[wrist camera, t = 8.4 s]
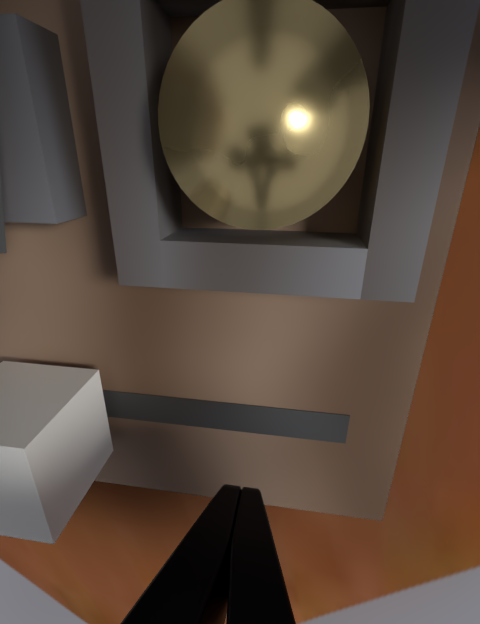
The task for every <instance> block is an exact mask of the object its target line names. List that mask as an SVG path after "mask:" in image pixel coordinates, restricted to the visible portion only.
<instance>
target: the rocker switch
mask: <svg viewBox="0 0 480 624" xmlns="http://www.w3.org/2000/svg"><path fill="white" fill-rule="evenodd" d="M0 253H7V250H6V237H5V224H4V211H3V198H2V185H1V172H0Z"/></svg>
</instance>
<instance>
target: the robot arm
mask: <svg viewBox="0 0 480 624" xmlns="http://www.w3.org/2000/svg"><path fill="white" fill-rule="evenodd" d="M226 615H227V624H296V623H295V619H294V615H293V612H292V608H291V604H290V600H289V596H288V593H287V589H286V585H285V581H284V578H283V574H282V570H281V566H280V562H279V559H278V555H277V551H276V547H275V544H274V540H273V536H272V532H271V528H270V525H269V521H268V517H267V513H266V509H265V506H264V502H263V498H262V494H261V491H260V490H259V489H258V488H251V487H243V488H242V490H241V487H240V486H236V485H229V484H224V485H223V486H222V487H221V488H220V489H219V491H218V492H217V493H216V495H215V496H214V497H213V499H212V500H211V502H210V503H209V504H208V506H207V507H206V508H205V510H204V511H203V512H202V514H201V515H200V516H199V518H198V519H197V521H196V522H195V523H194V525H193V526H192V527H191V529H190V530H189V531H188V533H187V534H186V536H185V537H184V538H183V540H182V541H181V542H180V544H179V545H178V546H177V548H176V549H175V550H174V552H173V553H172V555H171V556H170V557H169V559H168V560H167V561H166V563H165V564H164V565H163V567H162V568H161V569H160V571H159V572H158V574H157V575H156V576H155V578H154V579H153V580H152V582H151V583H150V584H149V586H148V587H147V588H146V590H145V591H144V593H143V594H142V595H141V597H140V598H139V599H138V601H137V602H136V603H135V605H134V606H133V607H132V609H131V610H130V612H129V613H128V614H127V616H126V617H125V618H124V620H123V621H122V622H121V624H224V623H225V619H226Z"/></svg>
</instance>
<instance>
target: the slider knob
mask: <svg viewBox="0 0 480 624" xmlns="http://www.w3.org/2000/svg"><path fill="white" fill-rule="evenodd" d="M112 452H113V446H112V440H111V435H110V429H109V423H108V418H107V412H106V407H105V401H104V396H103V390H102V385H101V379H100V374H99V370H96V369H85V368H74V367H64V366H53V365H43V364H32V363H21V362H11V361H3V362H1V363H0V535H3V536H9V537H15V538H21V539H27V540H33V541H39V542H45V543H51V544H54V543H55V542H56V540H57V539H58V537H59V535H60V534H61V532H62V531H63V529H64V528H65V526H66V524H67V523H68V521H69V520H70V518H71V516H72V515H73V513H74V512H75V510H76V509H77V507H78V505H79V504H80V502H81V501H82V499H83V498H84V496H85V494H86V493H87V491H88V490H89V488H90V486H91V485H92V483H93V482H94V480H95V479H96V477H97V475H98V474H99V472H100V471H101V469H102V468H103V466H104V464H105V463H106V461H107V460H108V458H109V457H110V455H111V453H112Z"/></svg>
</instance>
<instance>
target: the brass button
mask: <svg viewBox="0 0 480 624" xmlns="http://www.w3.org/2000/svg"><path fill="white" fill-rule="evenodd" d="M369 110H370V102H369V88H368V82H367V76H366V72H365V68H364V65H363V62H362V59H361V56H360V54H359V52H358V50H357V48H356V45H355V43H354V41H353V40H352V38H351V37H350V35H349V34H348V32H347V31H346V29H345V28H344V27H343V26H342V24H341V23H340V22H339V21H338V20H337V19H336V18H335V16H333V15H332V14H331V13H330V12H329V11H327V10H326V9H325V8H324V7H323V6H321V5H319V4H318V3H316V2H314V1H313V0H222V1H220V2H218V3H217V4H215V5H214V6H212V7H211V8H209V9H208V10H207V11H205V12H204V13H203V14H202V15H201V16H200V17H199V18H197V19H196V20H195V21H194V22H193V23H192V24H191V26H190V27H189V28H188V29H187V31H186V32H185V33H184V34H183V36H182V37H181V39H180V40H179V42H178V44H177V45H176V47H175V48H174V50H173V52H172V55H171V57H170V59H169V61H168V63H167V66H166V69H165V72H164V75H163V78H162V83H161V88H160V93H159V103H158V127H159V134H160V141H161V145H162V149H163V153H164V156H165V158H166V161H167V164H168V166H169V168H170V170H171V172H172V174H173V176H174V178H175V180H176V181H177V183H178V184H179V186H180V187H181V189H182V190H183V192H184V193H185V194H186V195H187V196H188V197H189V199H190V200H191V201H192V202H193V203H194V204H196V205H197V206H198V207H199V208H200V209H201V210H203V211H204V212H205V213H207V214H208V215H210V216H211V217H213V218H215V219H217V220H219V221H221V222H223V223H226V224H228V225H231V226H234V227H238V228H242V229H250V230H271V229H277V228H282V227H285V226H289V225H292V224H295V223H297V222H299V221H301V220H304V219H306V218H307V217H309V216H311V215H312V214H314V213H315V212H317V211H318V210H319V209H321V208H322V207H323V206H324V205H326V204H327V203H328V202H329V201H330V200H331V199H332V198H333V197H334V196H335V195H336V194H337V193H338V192H339V190H340V189H341V188H342V186H343V185H344V184H345V183H346V181H347V180H348V178H349V176H350V175H351V173H352V171H353V170H354V168H355V166H356V163H357V161H358V159H359V157H360V154H361V151H362V148H363V145H364V142H365V139H366V134H367V128H368V123H369Z"/></svg>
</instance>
